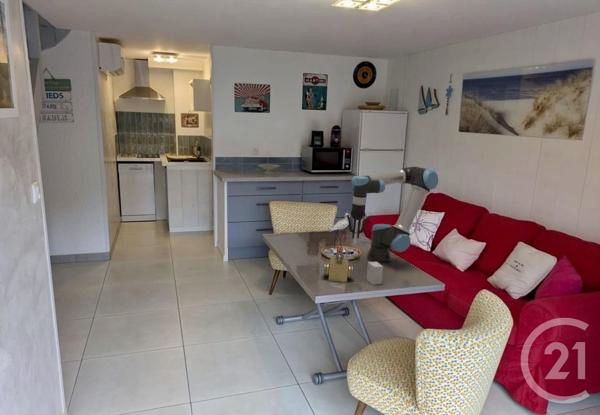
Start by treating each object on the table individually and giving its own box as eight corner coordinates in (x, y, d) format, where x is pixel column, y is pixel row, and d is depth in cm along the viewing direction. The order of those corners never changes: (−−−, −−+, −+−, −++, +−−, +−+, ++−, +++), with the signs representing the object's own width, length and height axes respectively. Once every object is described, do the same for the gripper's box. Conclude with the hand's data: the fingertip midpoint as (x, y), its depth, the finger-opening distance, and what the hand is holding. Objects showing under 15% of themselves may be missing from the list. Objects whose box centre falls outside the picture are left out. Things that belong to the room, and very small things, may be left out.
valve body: (350, 276, 236) (351, 257, 234) (350, 282, 227) (352, 263, 225) (325, 274, 237) (327, 255, 235) (324, 280, 228) (326, 260, 226)
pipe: (351, 276, 235) (353, 263, 233) (352, 281, 228) (353, 268, 226) (323, 273, 236) (324, 260, 235) (323, 278, 229) (324, 265, 227)
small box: (381, 284, 228) (383, 266, 225) (372, 285, 226) (374, 266, 224) (374, 278, 235) (376, 261, 233) (365, 279, 233) (367, 261, 231)
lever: (343, 260, 227) (343, 256, 227) (335, 260, 228) (335, 255, 227) (343, 251, 244) (343, 247, 243) (335, 250, 244) (336, 246, 243)
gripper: (370, 203, 236) (365, 243, 241) (347, 201, 237) (343, 240, 242) (371, 206, 229) (366, 246, 234) (347, 204, 230) (343, 244, 235)
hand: (354, 243), depth 238 cm, fingers closed
